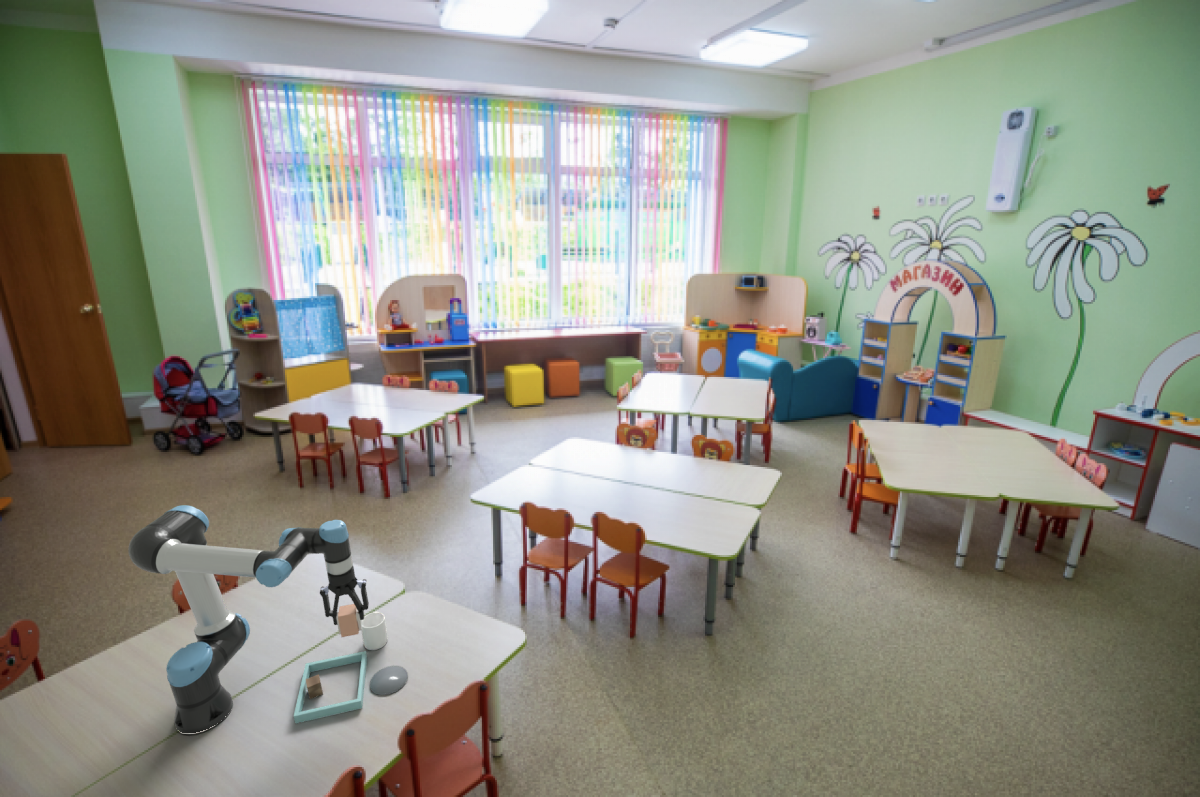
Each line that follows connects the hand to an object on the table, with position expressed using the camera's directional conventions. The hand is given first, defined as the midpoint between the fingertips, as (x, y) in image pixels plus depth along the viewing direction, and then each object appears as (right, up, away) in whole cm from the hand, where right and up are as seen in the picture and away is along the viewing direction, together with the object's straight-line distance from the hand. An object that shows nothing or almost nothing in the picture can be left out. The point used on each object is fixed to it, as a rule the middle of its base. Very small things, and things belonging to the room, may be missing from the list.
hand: (350, 629), depth 184 cm
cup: (-2, -15, +28) cm, 31 cm away
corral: (-8, -22, +6) cm, 24 cm away
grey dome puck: (+9, -21, +9) cm, 25 cm away
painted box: (0, 0, 0) cm, 0 cm away
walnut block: (-14, -23, +4) cm, 27 cm away
